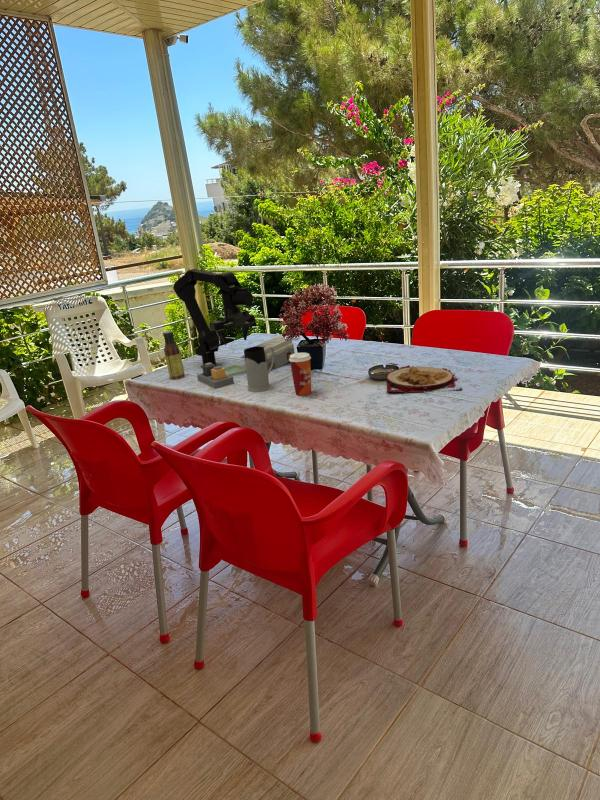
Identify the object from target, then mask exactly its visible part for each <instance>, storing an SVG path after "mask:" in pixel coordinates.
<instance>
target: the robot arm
mask: <svg viewBox="0 0 600 800" xmlns="http://www.w3.org/2000/svg"><path fill="white" fill-rule="evenodd" d="M198 282H203V283H209V284H212V285H214V287H216V288H218V289H219V290H217V292H216V294H217V295H220V296H221V300H222V308H221V310H222V311H223V314H224V317H223V321H222V320H214V321H210V322H209V324H208V323H207V321H206V319H205V317H204V314H203V313H202V310H201V308H200V305H199V303H198V300H197V298H196V292H197V290H196V288H195V287H196V285H197V283H198ZM172 288H173V292H174V293H175V294H176V296H177V298H179V299H180V300H181V301H182V302H183V303H184V304H185V306H186V309H187V311H188V314H189V315H190V318H191V320H192V323H193V324H194V327H195V329H196V331H197V334H198V335H197V342H198V346H197V347H196V350H195V353H196V355H197V356H200V357H201V360H202V365H200V367H201V368H202V366H204V365H205V364H206V363H213V364H214V365H216V366H220V364H218V363H217V362H216V361H217V360H216V355H215V352H218V351H219V347H220V343H221V342H220V339H221V341H222V343H223V345H225V346H227V345H228V344H227V338H226V329H224V328H225V327H226V326H230V325H234V326H236V327H238V326H240V327H241V332H242V336H243V340H244V341H247V338H248V334H249V330H250V327H251V325H253V324H254V323H255V322H256V321H257V319H256V317H255V315H254V314H250V312H249V310H244V311H241V309H240V307H239V306H251V305H252V303H253V301H254V295H253V294H252V291H250V290H249V287H243V286H242V284H241V283H240V281H239V280H238V278H237V277H236V275H235V273H233V272H229V271H228V272H221V273H220V272H213V271H212V272H211V271H206V270H202V269H198V268H193V269H192V268H191V269H189V270H187V271H186V272H185V273H184V274H183V275H182V276H180V277H179V278H178V279H177V280H176V281H174V283H173V287H172Z"/></svg>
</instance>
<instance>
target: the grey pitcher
mask: <svg viewBox="0 0 600 800" xmlns="http://www.w3.org/2000/svg"><path fill="white" fill-rule="evenodd" d="M269 348H271V347H268V348H267V349H266V350H265V351H264V347H255V346H251V347H247V348H244V349H243V354H244V355H243V356H245V358H244V364H245V367H246V372H245V373H246V380H247V391H248V392H251V393H259V392H263V391H264V392H266V391H268V390H269V389H270V388H272V386H271V384H270V381H269V375H270V372H271V371H272V370H273V369H272V367H273V363H274V350H273V348H271V349H272V352H273V360H272V364H271V367H270V369H269V371H267V363H266V359H267V350H268V349H269Z"/></svg>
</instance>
